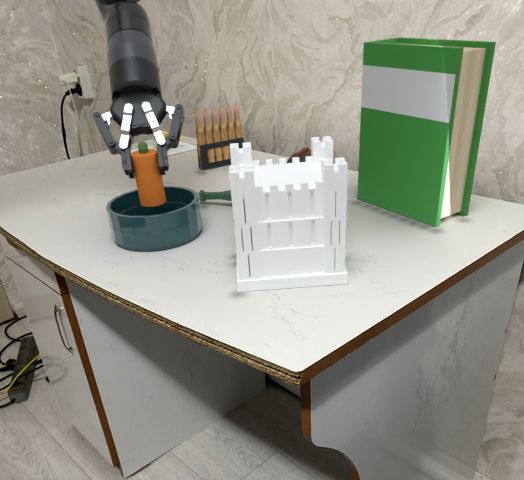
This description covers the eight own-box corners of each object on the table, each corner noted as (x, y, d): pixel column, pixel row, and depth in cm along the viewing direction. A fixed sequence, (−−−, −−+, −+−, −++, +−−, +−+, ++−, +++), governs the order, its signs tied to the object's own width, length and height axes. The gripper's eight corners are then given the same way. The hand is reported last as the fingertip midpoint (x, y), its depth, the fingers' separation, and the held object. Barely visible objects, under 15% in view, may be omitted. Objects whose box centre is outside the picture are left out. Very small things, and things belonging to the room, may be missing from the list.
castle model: (237, 247, 80) (227, 143, 72) (331, 240, 80) (332, 135, 72) (237, 292, 69) (225, 174, 60) (347, 283, 69) (351, 164, 60)
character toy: (155, 137, 126) (142, 132, 131) (158, 151, 128) (144, 146, 133) (186, 131, 129) (171, 126, 135) (188, 145, 131) (173, 140, 137)
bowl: (110, 257, 80) (102, 222, 77) (117, 223, 92) (109, 191, 89) (205, 245, 81) (200, 210, 78) (199, 213, 93) (195, 182, 90)
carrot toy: (140, 208, 82) (127, 146, 77) (140, 199, 85) (128, 139, 80) (166, 205, 82) (155, 143, 77) (166, 196, 85) (155, 136, 80)
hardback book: (467, 214, 85) (495, 41, 72) (435, 226, 82) (458, 48, 68) (387, 188, 98) (398, 37, 84) (357, 198, 94) (363, 42, 81)
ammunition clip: (242, 159, 120) (237, 101, 113) (246, 161, 119) (241, 102, 112) (198, 168, 116) (191, 108, 109) (201, 170, 115) (194, 110, 108)
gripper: (80, 58, 78) (92, 166, 75) (177, 50, 79) (193, 155, 76) (92, 92, 85) (104, 191, 82) (182, 84, 87) (196, 181, 83)
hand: (147, 173), depth 79 cm, fingers closed on carrot toy, 4 cm apart
